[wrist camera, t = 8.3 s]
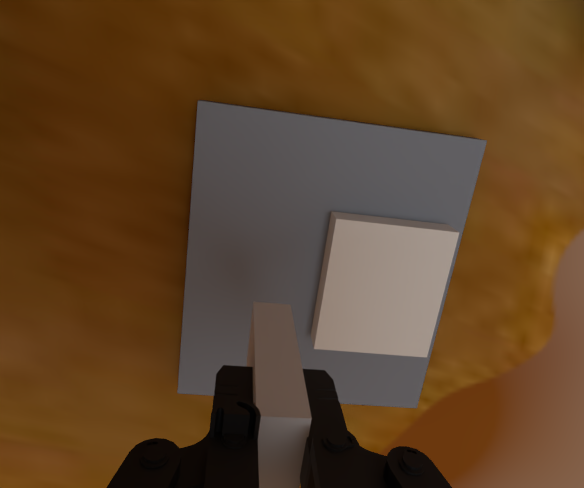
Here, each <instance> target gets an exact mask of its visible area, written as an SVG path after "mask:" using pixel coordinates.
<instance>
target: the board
mask: <svg viewBox="0 0 584 488" xmlns="http://www.w3.org/2000/svg"><path fill="white" fill-rule="evenodd" d="M486 142H487V141H486V140H481V139H477V138H471V137H463V136H456V135H449V134H442V133H435V132H427V131H420V130H413V129H406V128H399V127H392V126H384V125H377V124H370V123H363V122H356V121H348V120H341V119H334V118H327V117H320V116H312V115H305V114H298V113H291V112H284V111H277V110H269V109H262V108H255V107H248V106H241V105H233V104H226V103H219V102H212V101H205V100H198V106H197V120H196V134H195V149H194V163H193V177H192V192H191V206H190V220H189V235H188V249H187V264H186V278H185V292H184V307H183V321H182V335H181V350H180V364H179V379H178V393H180V394H197V395H213V396H214V391H215V381H216V374H217V372H218V371H219V370H220V369H221V367H222V366H223V365H231V366H247V353H248V345H249V336H250V328H251V319H252V310H253V302H263V303H276V304H289V305H291V310H292V315H293V321H294V326H295V331H296V337H297V342H298V347H299V353H300V358H301V364H302V369H316V370H325V371H326V372H327V373H328V374H329V375H330V377H331V378H332V379H333V381H334V384H335V388H336V392H337V395H338V401H339V402H340V403H341V404H357V405H373V406H389V407H405V408H417V405H418V401H419V397H420V394H421V390H422V386H423V382H424V378H425V375H426V371H427V367H428V363H429V359H430V355H431V352H432V348H433V344H434V340H435V336H436V333H437V329H438V325H439V321H440V317H441V314H442V310H443V306H444V302H445V298H446V295H447V291H448V287H449V283H450V279H451V276H452V272H453V268H454V264H455V260H456V256H457V253H458V249H459V245H460V241H461V237H462V234H463V230H464V226H465V222H466V218H467V215H468V211H469V207H470V203H471V199H472V196H473V192H474V188H475V184H476V180H477V177H478V173H479V169H480V165H481V161H482V158H483V154H484V150H485V146H486ZM331 211H333V212H342V213H351V214H359V215H368V216H377V217H386V218H395V219H403V220H412V221H421V222H430V223H438V224H447V225H449V226H451V227H452V228H454V229H455V230H456V231H458V232H459V236H458V240H457V244H456V248H455V252H454V256H453V259H452V263H451V267H450V271H449V275H448V279H447V282H446V286H445V290H444V294H443V298H442V302H441V305H440V309H439V313H438V317H437V321H436V325H435V329H434V332H433V336H432V340H431V344H430V348H429V352H428V355H427V358H426V357H413V356H400V355H387V354H374V353H360V352H347V351H334V350H321V349H314V347H313V343H312V339H311V330H312V324H313V318H314V312H315V306H316V300H317V294H318V288H319V282H320V277H321V271H322V265H323V259H324V253H325V247H326V241H327V235H328V229H329V223H330V217H331Z"/></svg>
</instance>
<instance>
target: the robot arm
mask: <svg viewBox="0 0 584 488" xmlns="http://www.w3.org/2000/svg"><path fill="white" fill-rule="evenodd" d="M300 483H301V488H452V487H451V486H450V484H449V483H448V482H447V481H446V479H445V478H444V477H443V475H442V474H441V473H440V471H439V470H438V469H437V467H436V466H435V465H434V463H433V462H432V461H431V460H430V459H429V458H428V457H427V456H426V455H425V454H424V453H422V452H420V451H418V450H417V449H413V448H410V447H401V446H399V447H396V448H393V449H392V450H391V451H390V452H389V453H388V455H387V456H384V455H380V454H377V453H374V452H371V451H368V450H366V449H364V448H362V447H361V446H359V443H358V442H357V440H356V438H355V436H353V435H352V434H351V433H350V432H349V431H347V427H346V424H345V420H344V417H343V413H342V409H341V406H340V402H339V401H338V395H337V392H336V388H335V384H334V381H333V379H332V378H331V377H330V375H329V374H328V373H327V372H326V371H325V370H316V369H302V364H301V358H300V353H299V347H298V342H297V337H296V331H295V326H294V321H293V315H292V310H291V305H289V304H276V303H263V302H253V310H252V319H251V328H250V336H249V345H248V353H247V366H231V365H223V366H222V367H221V369H220V370H219V371H218V372H217V374H216V381H215V391H214V400H213V409H212V413H211V423H210V430H209V433H208V434H207V436H206V437H205V438H204V439H202V440H201V441H200V442H198V443H196V444H194V445H191V446H188V447H184V448H179V447H178V446H177V445H176V444H175V443H174V442H171V441H169V440H166V439H159V438H154V439H149V440H145V441H143V442H141V443H139V444H137V445H136V446H135V447H134V448H133V449H132V450H131V451H130V452H129V454H128V455H127V457H126V458H125V460H124V461H123V463H122V464H121V466H120V468H119V469H118V471H117V472H116V474H115V475H114V477H113V478H112V480H111V481H110V483H109V485H108V486H107V488H299V486H300Z"/></svg>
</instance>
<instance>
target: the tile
mask: <svg viewBox="0 0 584 488" xmlns="http://www.w3.org/2000/svg"><path fill="white" fill-rule="evenodd" d="M458 236H459V232H458V231H456V230H455V229H454V228H452V227H451V226H449V225H447V224H438V223H430V222H421V221H412V220H403V219H395V218H386V217H377V216H368V215H359V214H351V213H342V212H333V211H331V217H330V223H329V229H328V235H327V241H326V247H325V253H324V259H323V265H322V271H321V277H320V282H319V288H318V294H317V300H316V306H315V312H314V318H313V324H312V330H311V339H312V343H313V347H314V349H321V350H334V351H347V352H360V353H374V354H387V355H400V356H413V357H426V358H427V355H428V352H429V348H430V344H431V340H432V336H433V332H434V329H435V325H436V321H437V317H438V313H439V309H440V305H441V302H442V298H443V294H444V290H445V286H446V282H447V279H448V275H449V271H450V267H451V263H452V259H453V256H454V252H455V248H456V244H457V240H458Z"/></svg>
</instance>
